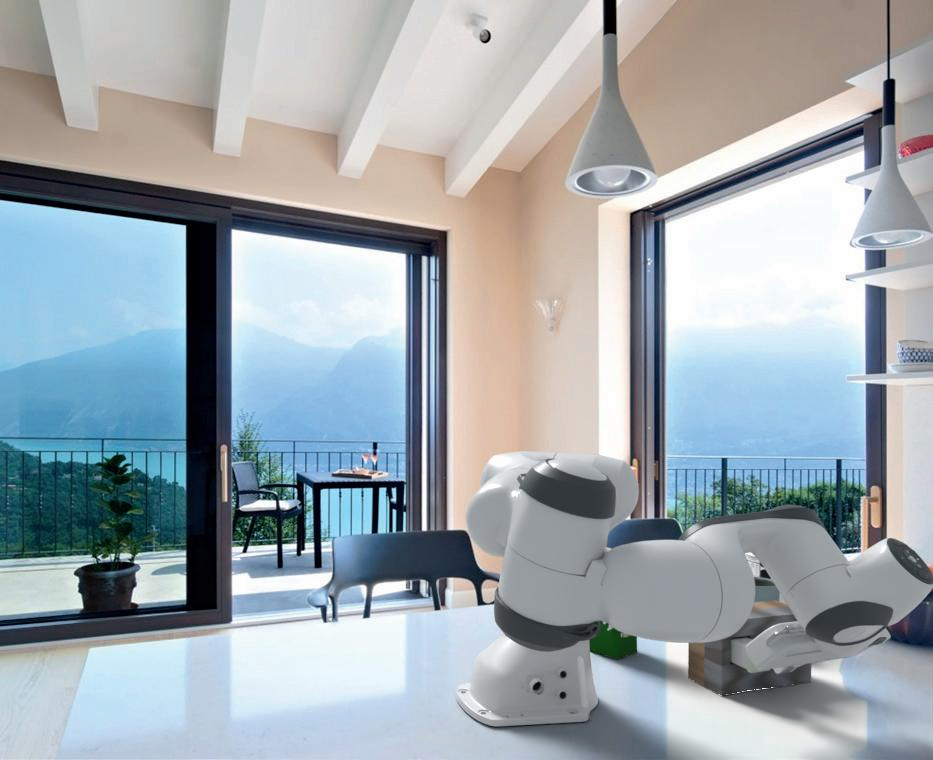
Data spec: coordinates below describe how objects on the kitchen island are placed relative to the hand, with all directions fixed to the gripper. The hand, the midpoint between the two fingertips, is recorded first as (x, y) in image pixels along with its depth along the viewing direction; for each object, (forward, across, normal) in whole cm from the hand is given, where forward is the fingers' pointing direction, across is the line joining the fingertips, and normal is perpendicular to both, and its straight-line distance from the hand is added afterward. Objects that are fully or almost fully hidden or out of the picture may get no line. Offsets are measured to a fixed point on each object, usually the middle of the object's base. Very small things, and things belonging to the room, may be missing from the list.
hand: (780, 668), depth 104 cm
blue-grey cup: (+26, +25, +16) cm, 40 cm away
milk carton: (+28, -9, +18) cm, 34 cm away
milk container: (+36, +47, +26) cm, 65 cm away
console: (+13, +6, +4) cm, 15 cm away
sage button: (+6, 0, +3) cm, 6 cm away
